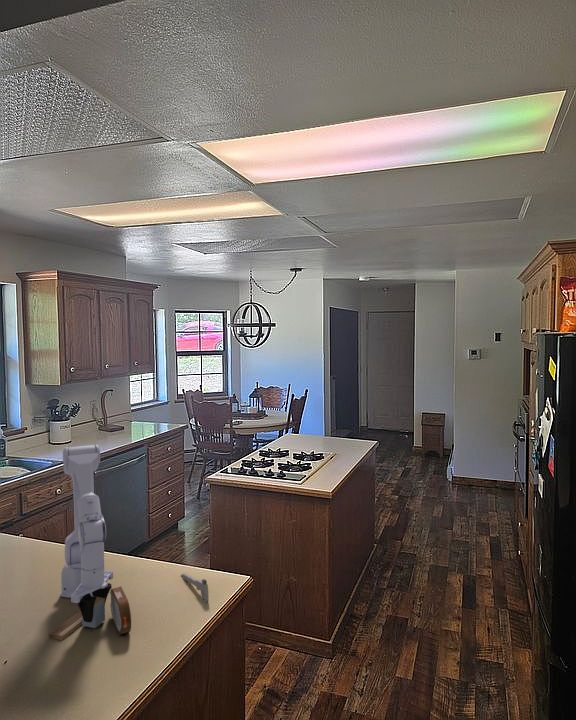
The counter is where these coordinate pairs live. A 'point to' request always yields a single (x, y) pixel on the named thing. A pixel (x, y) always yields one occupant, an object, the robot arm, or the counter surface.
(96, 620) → the tan grey block
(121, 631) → the tin
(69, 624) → the board
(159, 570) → the counter surface
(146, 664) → the counter surface
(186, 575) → the caliper
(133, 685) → the counter surface
